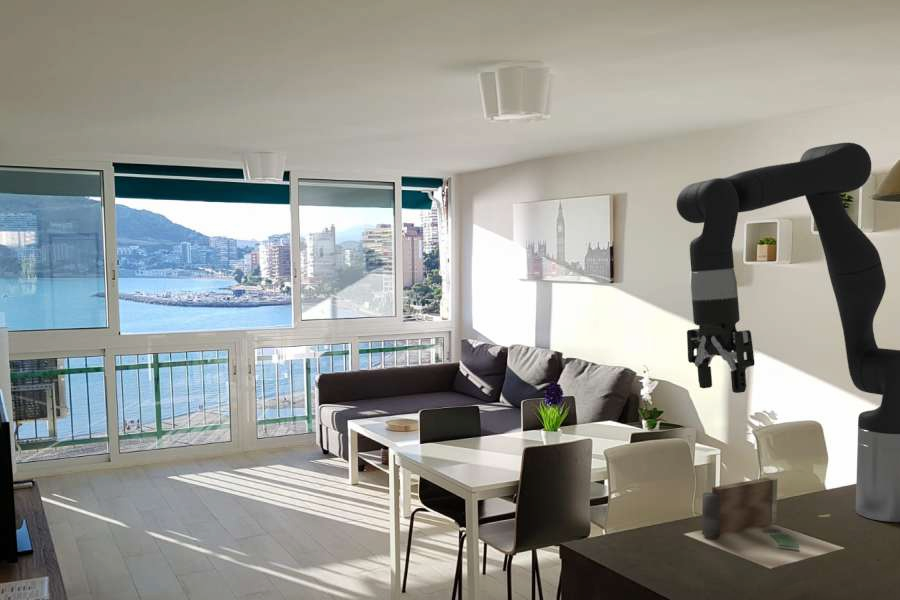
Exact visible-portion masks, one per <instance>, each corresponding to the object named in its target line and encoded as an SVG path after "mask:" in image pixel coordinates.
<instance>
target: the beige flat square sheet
mask: <svg viewBox="0 0 900 600" xmlns="http://www.w3.org/2000/svg"><path fill="white" fill-rule="evenodd" d="M683 535H685V536H687V537H689V538H692V539H695V540H697V541H700V542H702V543H704V544H706V545H709V546H712V547H714V548H717V549H720V550H722V551H724V552H727V553H730V554H733V555H734V556H737V557H739V558H742V559H744V560H745V559H746V560H747V561H750V562H753V563H755V564H758V565H759V566H763V567H765V568H768V569H775V568H778V567H782V566H785V565H790V564H793V563H797V562H800V561H803V560H807V559H811V558H814V557H818V556H822V555H823V556H824V555H826V554H829V553H833V552H837V551H840V550H845V547H843V546H840V545H836V544H835V543H830V542H828V541H824V540H823V539H822V540H821V539H818V538H816V537H813V536H809V535H807V534H805V533H801V532H798V531H795V530H791V529H788V528H786V527H783V526H781V525H777V524H773V523H769V524H765V525H760V526H756V527H751V528H747V529H743V530H738V531H734V532H729V533H725V534H721V535H720V536H719V537H707V536H704V535H702V529H700V530H696V531H692V532H687V533H683Z"/></svg>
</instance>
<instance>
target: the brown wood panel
mask: <svg viewBox="0 0 900 600" xmlns="http://www.w3.org/2000/svg"><path fill="white" fill-rule="evenodd" d="M777 502H778V478H775V477H771V476H766V477H762V478H757V479H751V480H746V481H740V482H734V483H730V484H723V485H718V486H712V488H711V492H703V493H702V513H701V514H702V515H701V516H702V517H701V518H702V519H701V520H702V521H701V530H702V535H704V536H707V537H719V536H720V535H721V534H725V533H729V532H734V531H738V530H743V529H747V528H751V527H756V526H760V525H765V524H769V523H771V524H773V523H777V515H778V514H777V508H778V503H777Z"/></svg>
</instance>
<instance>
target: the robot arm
mask: <svg viewBox="0 0 900 600" xmlns="http://www.w3.org/2000/svg"><path fill="white" fill-rule="evenodd" d="M871 172H872V160H871V156H870V154H869V152H868V151H867V150H866V148H864V147H863V146H862V145H861V144H857V143H854V142H840V143H834V144H833V143H832V144H828V145H821V146H815V147H812V148H808V149H807V150H805V152H804V153H803V154H802V155H801V157H800V159H799V161H795V162H788V163H781V164H774V165H768V166H767V165H766V166H763V167H757V168H754V169H749V170H745V171H741V172H739V173H738V172H737V173H735V174H733V175H729V176H727V177H723V178H722V177H718V178H716V177H715V178H712V179H707V180H703V181H699V182H695V183H690V184H688V185H687V186H685V187H684V188H683V189H682V190H681V191H680V192H679V194H678V196H677V199H676V209H677V212H678V214H679V216H680V217H681V218H682V219H683V220H684V221H686V222H688V223H692V224H702V223H703V227H702V233H701V234H700V235H699V236H698V237H696V238H694V239H692V240H691V241H690V244H689V259H690V260H689V261H690V272H691V273H690V274H691V275H690V276H691V277H690V278H691V279H690V292H691V304H692V306H691V307H692V314H693V315H692V317H693V318H692V319H693V323H694V325H696V326H698V328H692V329H687V330H686V342H687V361H688V362H689V363H693V364H694V366H695V367H696V368H697V376H698V377H697V379H698V384H699V387H700V388H701V389H711V388H712V387H713V378H712V366H710V365H711V362H712V360H713V358H714V357H716V356H719V357H721V358H722V360H723V361H726V363H727V364H728V366H729V369H731V370H730V379H731V388H732V389H731V391H732V392H733V393H734V394H740V393H745V392H746V390H747V377H746V375H747V374H746V370H747V369H748V368H749V367H754V366H755V354H754V345H753V339H752V338H753V337H752V333H751V331H750V329H745V330H737V327H736V324H737V323H739V321H740V319H741V318H740V308H739V307H740V306H739V294H738V282H737V277H736V273H735V264H734V252H733V242H734V239H735V238H734V237H735V232H736V227H737V221H738V215H739V213H745V212H746V213H747V212H751V211H755V210H758V209H763V208H766V207H770V206H773V205H777V204H780V203H784V202H787V201H790V200H793V199H798V198H800V197H804V196H805V199H806V201H807V204H808V207H809V209H810V211H811V212H810V213H811V214H812V217H813V220H814V223H815V225H816V228H817V232H818V236H819V239H820V242H821V247H822V249H823V254H824V257H825V261H826V265H827V271H828V274H829V275H828V276H829V279H830V283H831V288H832V290H833V293H834V297H835V300H836V301H835V302H836V304H837V309H838V312H839V313H838V314H839V317H840V322H841V326H842V331H843V337H844V345H845V353H846V359H847V366H848V372H849V376H850V379H851V381H852V384H853V385H854V386H855V388H856V389H858V390H859V391H861V392H864V393H866V394H872V395H880V396H881V397H882V398H881V403H880V405H879V407H877V408H875V409H872V410H871V409H870V410H866V411H862V412H860V413H859V415H858V417H857V446H856V447H857V452H856V453H857V454H856V456H857V457H856V486H855V488H856V489H855V513H856V514H857V515H859V516H861V517H864V518H867V519H870V520H876V521H880V522H889V523H900V349H891V348H881V347H879V346H878V344H877V342H876V339H875V333H874V320H875V316H876V313H877V311H878V309H879V306H881V305H880V304H881V302H882V300H883V297H884V295H885V292H886V287H887V283H886V276H885V272H884V269H883V265H882V264H883V263H882V259H881V257H880V253H879V251H878V249H877V248H876V246H875V245H874V243H873V242H872V241H871V240H870V239H869V237H868V236H867V235H866V233H864V231H862V230H861V228H860V227H858V225H857V224H856V223H855V222H854V221H853V220H852V218H851V217H850V215H849V214H848V212H847V209H846V208H845V206H844V202H843V199H842V196H841V194H844V193H845V194H846V193H850V192H853V191H856V190H858V189H860V188H862V187H863V186H864V185H865V184H866V183H867V181H868V180H869V178H870V176H871ZM695 350H696V355H695ZM745 357H746V359H745Z"/></svg>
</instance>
